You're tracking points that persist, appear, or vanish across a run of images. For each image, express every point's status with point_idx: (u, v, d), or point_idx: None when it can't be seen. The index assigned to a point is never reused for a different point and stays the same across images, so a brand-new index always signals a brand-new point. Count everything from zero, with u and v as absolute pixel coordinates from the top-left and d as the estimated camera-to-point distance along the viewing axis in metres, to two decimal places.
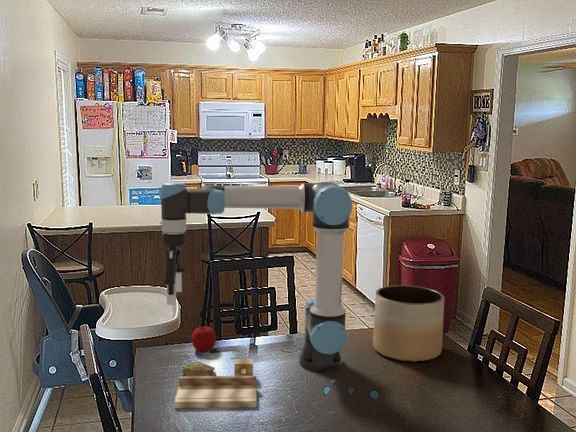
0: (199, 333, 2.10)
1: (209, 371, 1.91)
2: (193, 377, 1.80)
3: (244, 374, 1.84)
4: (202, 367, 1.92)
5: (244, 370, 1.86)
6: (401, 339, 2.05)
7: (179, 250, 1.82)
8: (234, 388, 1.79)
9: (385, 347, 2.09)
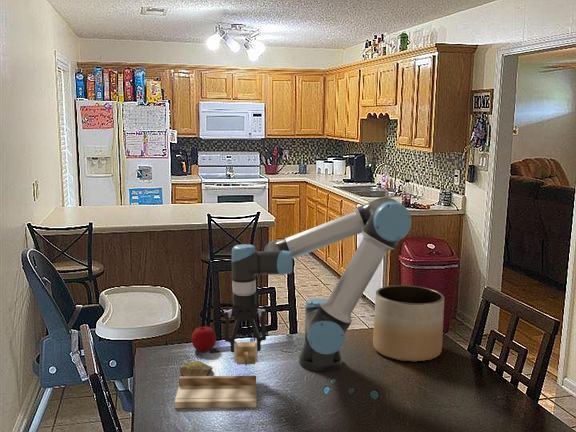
0: (199, 333, 2.10)
1: (206, 370, 1.91)
2: (193, 377, 1.80)
3: (246, 356, 1.83)
4: (200, 366, 1.93)
5: (246, 353, 1.85)
6: (401, 339, 2.05)
7: (247, 311, 1.86)
8: (234, 388, 1.79)
9: (385, 347, 2.09)
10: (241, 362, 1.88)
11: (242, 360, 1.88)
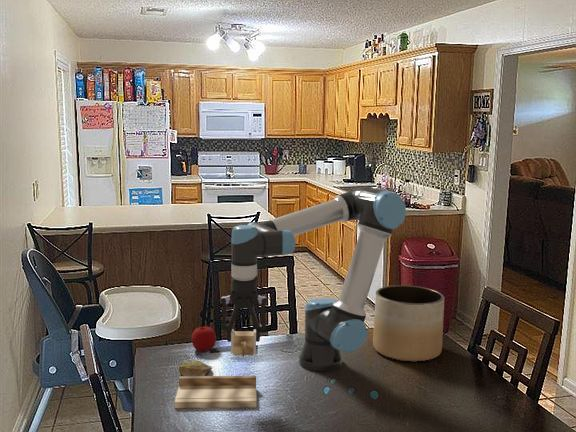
0: (199, 333, 2.10)
1: (205, 370, 1.92)
2: (193, 377, 1.80)
3: (244, 346, 1.68)
4: (199, 366, 1.93)
5: (244, 342, 1.71)
6: (401, 339, 2.05)
7: (247, 298, 1.71)
8: (234, 388, 1.79)
9: (385, 347, 2.09)
10: (238, 353, 1.73)
11: (239, 350, 1.73)
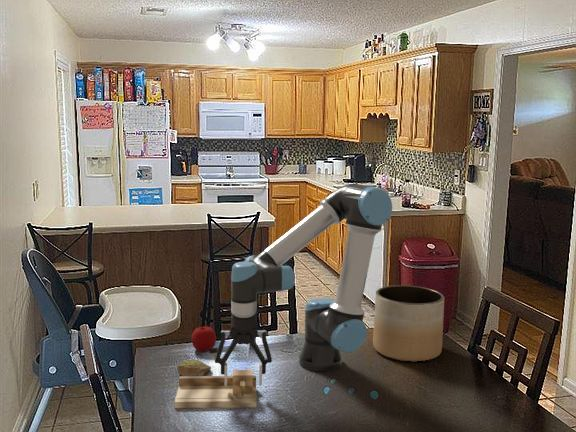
0: (199, 333, 2.10)
1: (204, 370, 1.92)
2: (193, 377, 1.80)
3: (243, 387, 1.70)
4: (198, 365, 1.93)
5: (243, 382, 1.72)
6: (401, 339, 2.05)
7: (246, 334, 1.73)
8: None
9: (385, 347, 2.09)
10: (237, 392, 1.75)
11: (238, 390, 1.75)
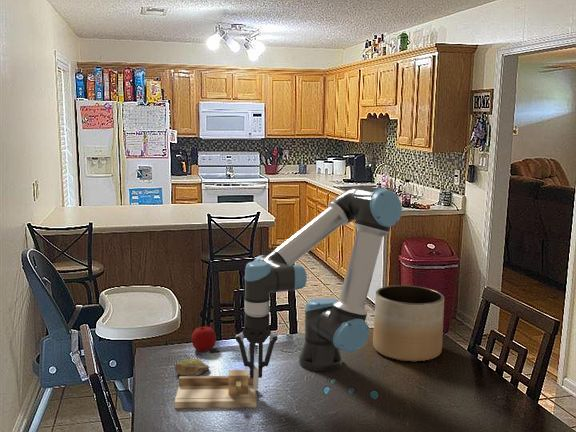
0: (199, 333, 2.10)
1: (201, 369, 1.92)
2: (193, 377, 1.80)
3: (239, 387, 1.70)
4: (195, 364, 1.94)
5: (239, 382, 1.72)
6: (401, 339, 2.05)
7: (260, 333, 1.73)
8: None
9: (385, 347, 2.09)
10: (233, 392, 1.75)
11: (234, 390, 1.75)
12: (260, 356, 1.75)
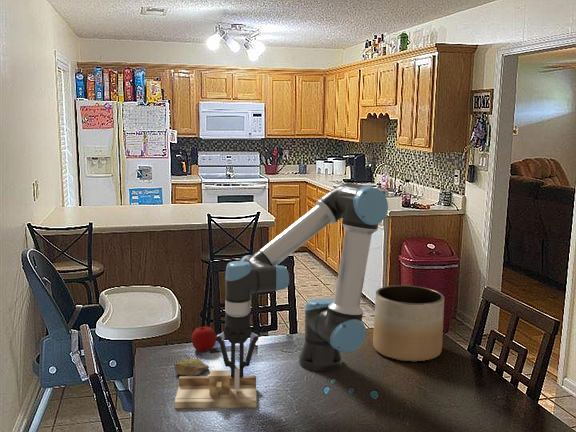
0: (199, 333, 2.10)
1: (200, 369, 1.93)
2: (193, 377, 1.80)
3: (219, 387, 1.70)
4: (195, 364, 1.94)
5: (220, 383, 1.72)
6: (401, 339, 2.05)
7: (241, 333, 1.73)
8: None
9: (385, 347, 2.09)
10: (214, 392, 1.74)
11: (215, 390, 1.74)
12: (241, 356, 1.74)
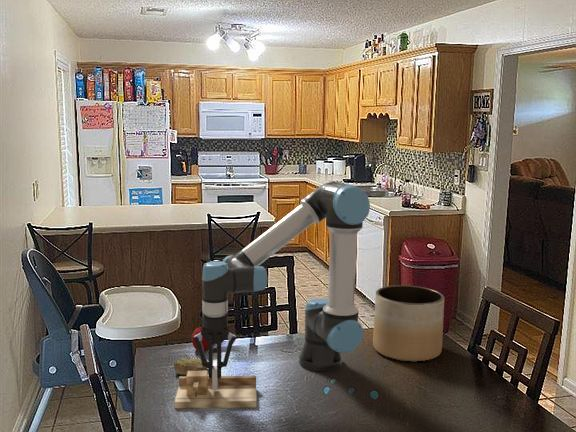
0: None
1: (199, 368, 1.93)
2: None
3: (196, 388, 1.69)
4: (194, 364, 1.95)
5: (197, 383, 1.71)
6: (401, 339, 2.05)
7: (218, 333, 1.72)
8: (234, 388, 1.79)
9: (385, 347, 2.09)
10: (191, 393, 1.74)
11: (192, 391, 1.74)
12: (218, 356, 1.74)
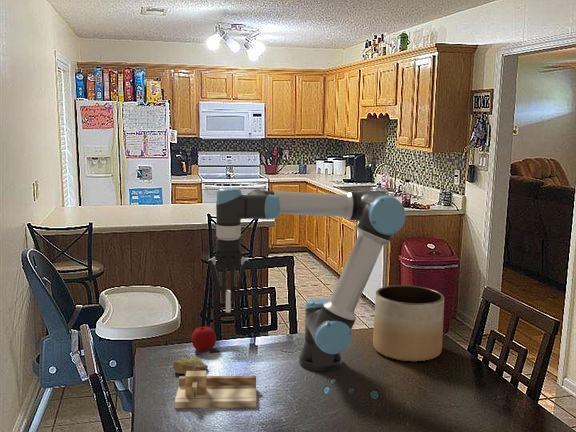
0: (199, 333, 2.10)
1: (198, 368, 1.93)
2: None
3: (195, 388, 1.69)
4: (194, 363, 1.95)
5: (195, 383, 1.71)
6: (401, 339, 2.05)
7: (232, 257, 1.79)
8: (234, 388, 1.79)
9: (385, 347, 2.09)
10: (190, 393, 1.74)
11: (191, 391, 1.74)
12: (232, 280, 1.80)
